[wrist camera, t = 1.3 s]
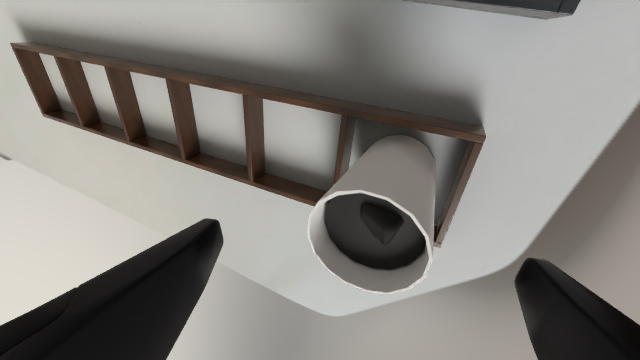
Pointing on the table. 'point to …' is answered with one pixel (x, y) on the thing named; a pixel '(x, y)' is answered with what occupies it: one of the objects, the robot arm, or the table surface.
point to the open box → (514, 6)
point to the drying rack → (253, 120)
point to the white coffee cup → (379, 218)
